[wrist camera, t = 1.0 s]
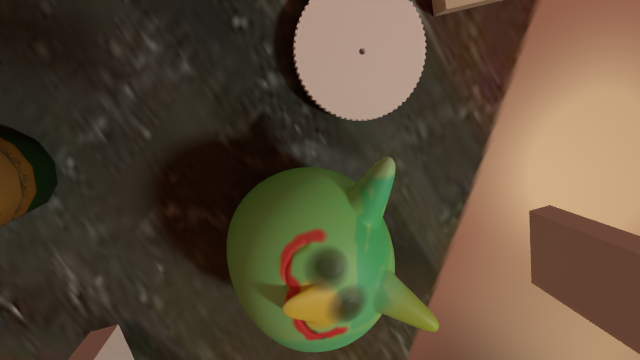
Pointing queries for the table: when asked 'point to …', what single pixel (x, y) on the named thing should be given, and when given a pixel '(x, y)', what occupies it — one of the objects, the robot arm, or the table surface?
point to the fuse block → (456, 5)
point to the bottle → (23, 175)
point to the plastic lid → (359, 55)
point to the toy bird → (319, 258)
